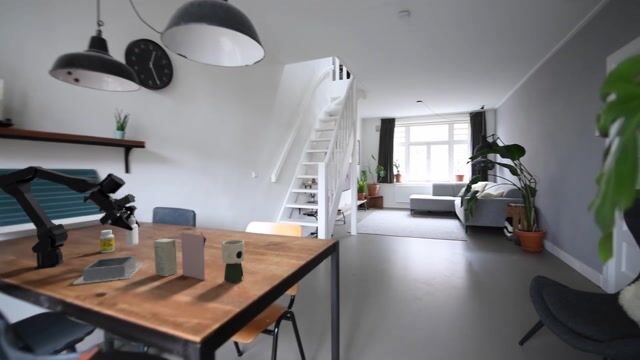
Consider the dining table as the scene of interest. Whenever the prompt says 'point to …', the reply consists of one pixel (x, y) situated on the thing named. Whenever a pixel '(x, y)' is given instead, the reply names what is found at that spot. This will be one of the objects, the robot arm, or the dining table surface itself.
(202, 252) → the greeting card
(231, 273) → the character mug
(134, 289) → the dining table surface
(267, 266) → the dining table surface
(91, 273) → the flat grey tray
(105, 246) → the supplement bottle
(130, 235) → the eye dropper bottle
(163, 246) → the skincare box
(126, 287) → the dining table surface
